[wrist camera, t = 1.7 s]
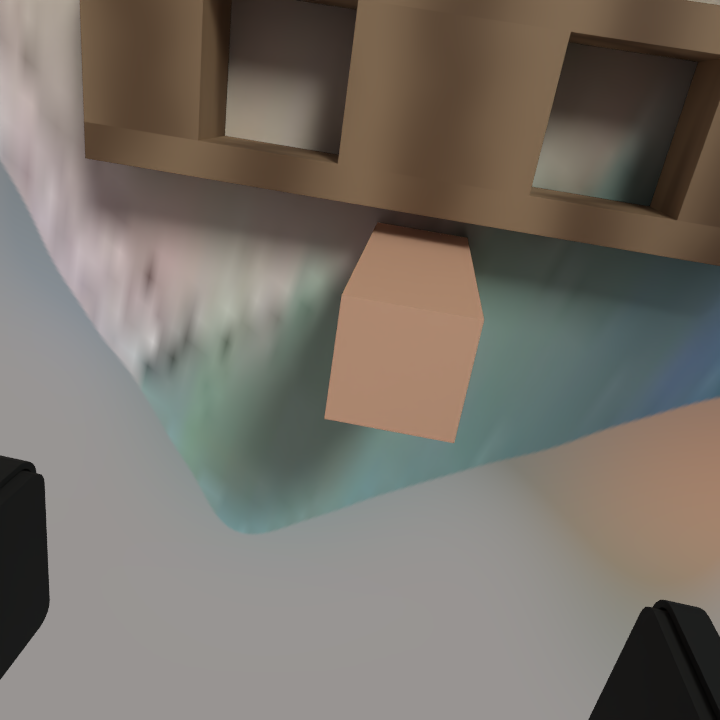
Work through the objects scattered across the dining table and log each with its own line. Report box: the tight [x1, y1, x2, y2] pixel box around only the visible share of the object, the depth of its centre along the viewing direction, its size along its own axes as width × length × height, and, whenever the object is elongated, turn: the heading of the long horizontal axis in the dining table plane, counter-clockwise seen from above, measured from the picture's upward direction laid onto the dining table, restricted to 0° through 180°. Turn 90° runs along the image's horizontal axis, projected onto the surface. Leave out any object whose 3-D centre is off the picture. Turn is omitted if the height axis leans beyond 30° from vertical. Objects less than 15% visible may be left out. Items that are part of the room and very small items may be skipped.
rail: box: [80, 0, 720, 266], centre depth 26 cm, size 30×9×4 cm, turn 82°
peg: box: [324, 222, 484, 443], centre depth 25 cm, size 4×4×12 cm
